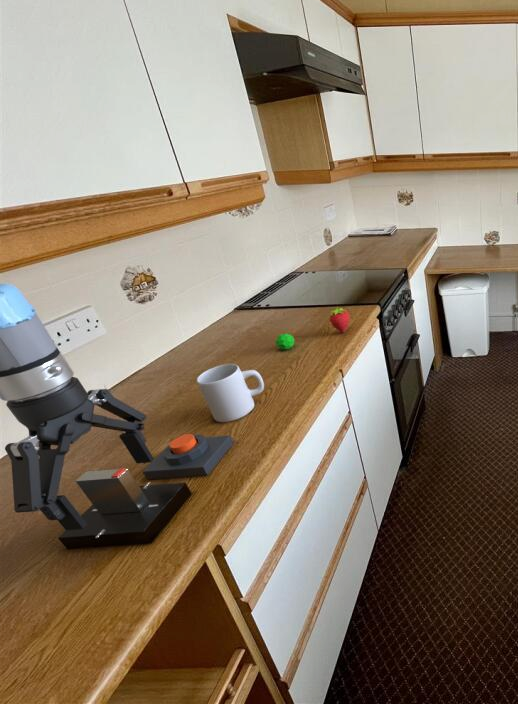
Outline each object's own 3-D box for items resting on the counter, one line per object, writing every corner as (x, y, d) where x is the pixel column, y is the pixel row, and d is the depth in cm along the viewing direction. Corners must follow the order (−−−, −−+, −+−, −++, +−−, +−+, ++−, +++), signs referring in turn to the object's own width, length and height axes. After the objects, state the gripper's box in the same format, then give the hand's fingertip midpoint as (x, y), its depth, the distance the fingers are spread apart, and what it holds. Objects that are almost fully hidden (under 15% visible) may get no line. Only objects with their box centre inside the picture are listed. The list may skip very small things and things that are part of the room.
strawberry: (354, 326, 138) (347, 299, 134) (352, 336, 131) (344, 307, 127) (335, 329, 137) (328, 302, 132) (332, 339, 130) (324, 311, 126)
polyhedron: (299, 346, 127) (294, 333, 125) (284, 353, 123) (279, 340, 121) (290, 343, 130) (286, 329, 128) (275, 350, 126) (270, 336, 124)
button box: (146, 479, 80) (137, 464, 78) (178, 447, 88) (171, 432, 87) (207, 475, 80) (199, 460, 79) (234, 443, 88) (227, 428, 87)
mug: (213, 427, 94) (194, 388, 89) (215, 409, 100) (197, 371, 95) (271, 407, 99) (256, 369, 94) (269, 391, 106) (254, 355, 101)
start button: (168, 455, 81) (164, 448, 80) (182, 441, 85) (178, 434, 84) (188, 453, 81) (184, 447, 80) (201, 439, 85) (198, 433, 84)
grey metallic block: (100, 514, 69) (74, 479, 66) (110, 504, 71) (85, 470, 68) (140, 511, 69) (117, 476, 66) (149, 501, 71) (127, 467, 68)
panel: (63, 553, 67) (52, 540, 65) (120, 496, 77) (112, 484, 75) (148, 546, 67) (139, 534, 65) (194, 491, 77) (187, 479, 75)
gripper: (-34, 447, 48) (65, 561, 57) (135, 344, 71) (186, 438, 80) (-97, 452, 48) (13, 565, 57) (92, 347, 71) (148, 441, 80)
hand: (114, 491), depth 69 cm, fingers open, 13 cm apart
